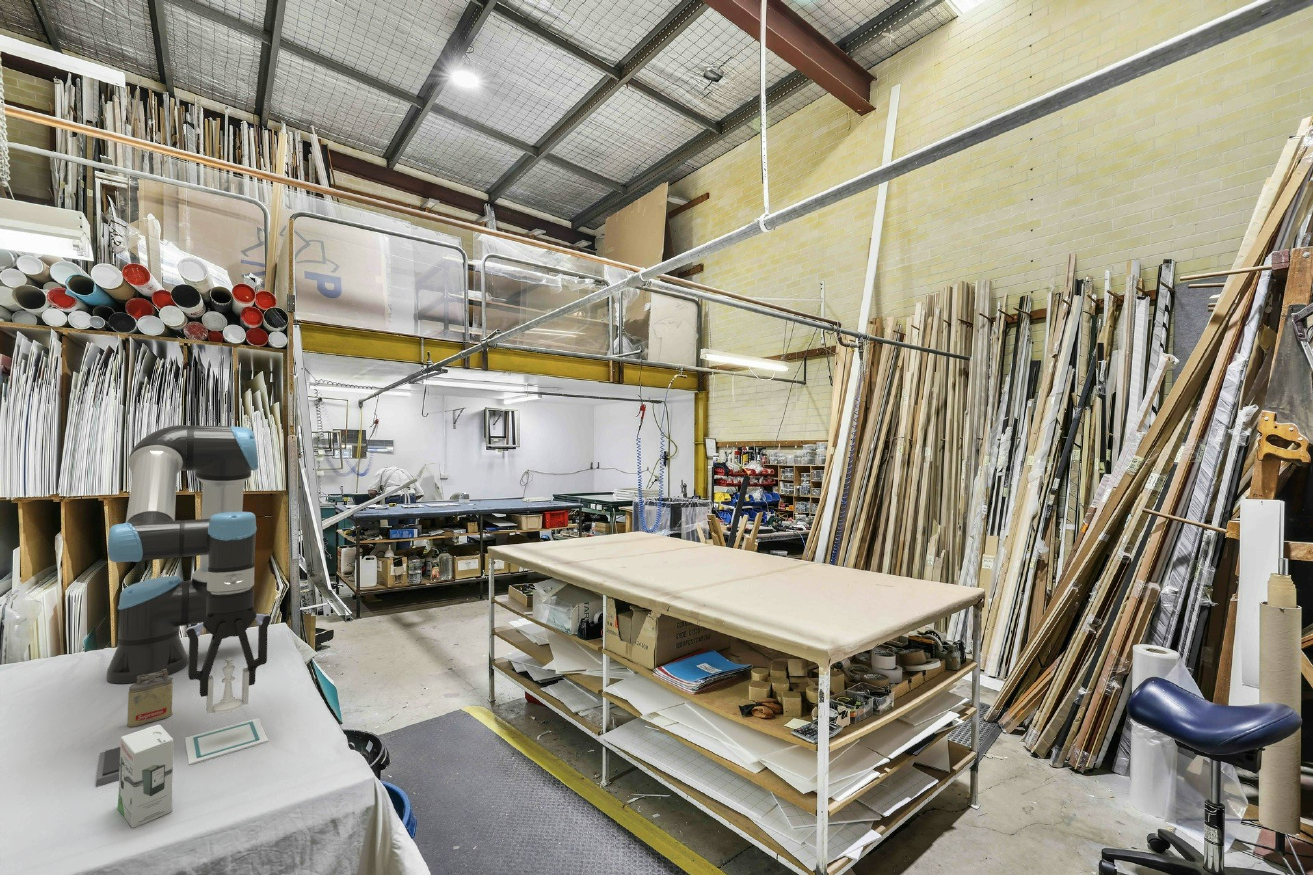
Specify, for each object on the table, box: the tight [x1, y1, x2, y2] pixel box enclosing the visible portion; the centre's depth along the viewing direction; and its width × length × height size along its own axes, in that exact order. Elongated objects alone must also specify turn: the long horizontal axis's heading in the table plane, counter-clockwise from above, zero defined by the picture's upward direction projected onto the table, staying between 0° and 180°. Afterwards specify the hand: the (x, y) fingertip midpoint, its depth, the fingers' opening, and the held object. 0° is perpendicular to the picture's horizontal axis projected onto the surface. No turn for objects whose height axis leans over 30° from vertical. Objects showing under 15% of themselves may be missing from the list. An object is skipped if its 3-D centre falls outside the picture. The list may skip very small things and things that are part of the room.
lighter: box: [126, 669, 174, 728], centre depth 116 cm, size 7×4×10 cm, turn 140°
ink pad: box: [95, 746, 120, 787], centre depth 100 cm, size 11×8×2 cm
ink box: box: [117, 724, 175, 829], centre depth 88 cm, size 9×5×12 cm, turn 56°
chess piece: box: [212, 656, 244, 715], centre depth 108 cm, size 5×5×10 cm
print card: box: [184, 717, 269, 766], centre depth 108 cm, size 12×12×1 cm
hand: (227, 706), depth 108 cm, fingers closed on chess piece, 5 cm apart
